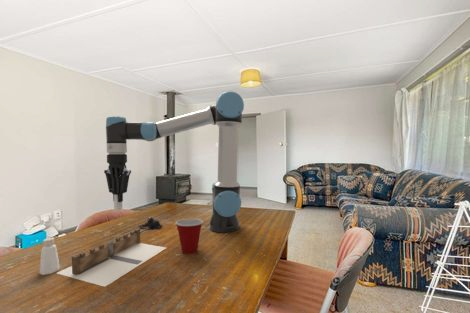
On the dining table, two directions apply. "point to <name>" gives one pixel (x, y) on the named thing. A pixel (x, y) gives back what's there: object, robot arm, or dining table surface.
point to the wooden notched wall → (123, 242)
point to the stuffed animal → (151, 224)
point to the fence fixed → (88, 259)
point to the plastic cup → (189, 234)
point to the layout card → (115, 265)
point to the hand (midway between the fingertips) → (118, 209)
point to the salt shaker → (49, 257)
